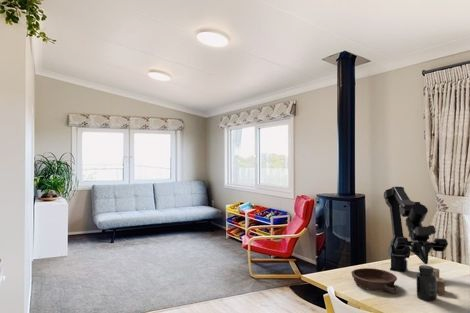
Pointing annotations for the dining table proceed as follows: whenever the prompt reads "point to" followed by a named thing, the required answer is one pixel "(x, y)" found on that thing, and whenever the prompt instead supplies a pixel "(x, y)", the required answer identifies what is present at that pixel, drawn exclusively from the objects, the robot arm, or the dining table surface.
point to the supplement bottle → (426, 283)
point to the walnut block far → (436, 272)
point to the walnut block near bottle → (440, 286)
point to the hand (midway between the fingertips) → (426, 263)
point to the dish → (375, 279)
